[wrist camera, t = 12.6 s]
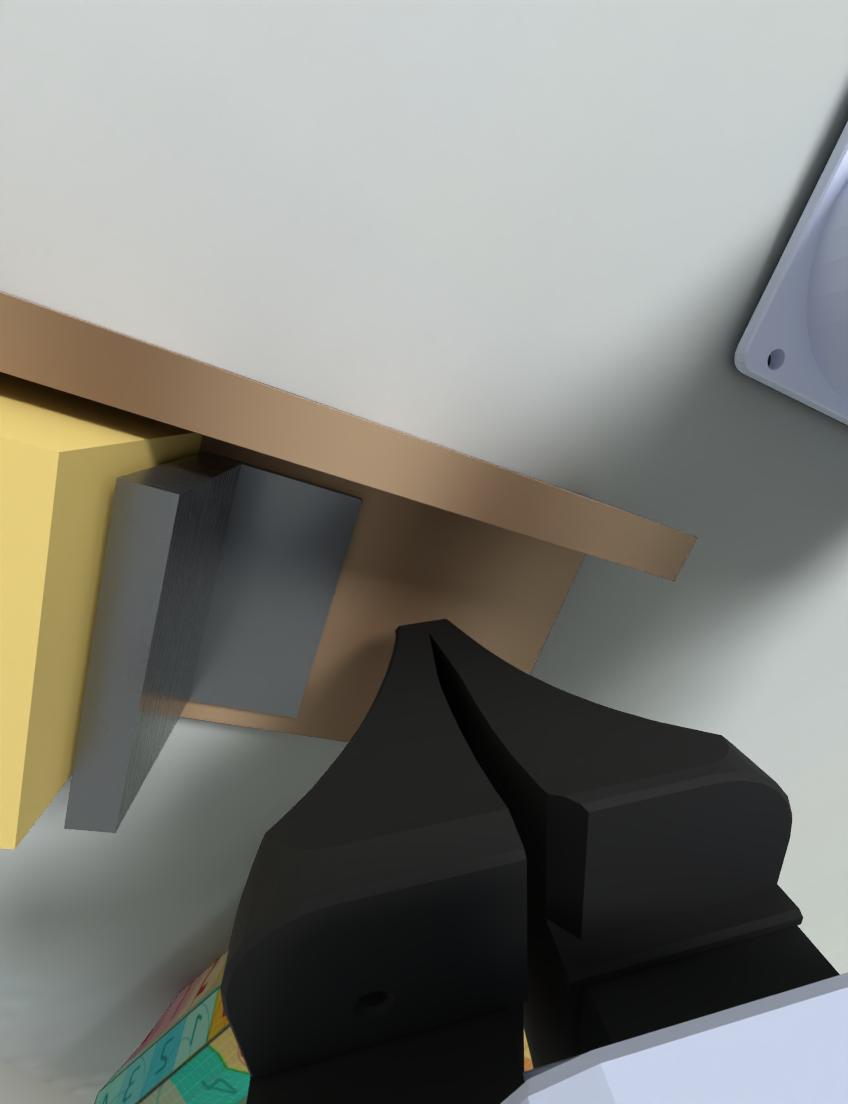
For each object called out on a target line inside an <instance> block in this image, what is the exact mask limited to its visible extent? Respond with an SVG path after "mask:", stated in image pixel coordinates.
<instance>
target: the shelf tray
mask: <svg viewBox="0 0 848 1104" xmlns="http://www.w3.org/2000/svg"><path fill="white" fill-rule="evenodd" d="M0 372H3V373H6V374H9V375H13V376H16V377H19V378H22V379H26V380H29V381H32V382H35V383H38V384H42V385H45V386H48V387H51V388H55V389H58V390H61V391H64V392H67V393H71V394H74V395H77V396H80V397H83V398H87V399H90V400H93V401H96V402H100V403H103V404H106V405H109V406H112V407H116V408H119V409H122V410H125V411H128V412H132V413H135V414H138V415H141V416H145V417H148V418H151V419H154V420H157V421H161V422H164V423H167V424H170V425H174V426H177V427H180V428H183V429H186V430H190V431H193V432H196V433H199V434H202V440H201V445H200V450H199V454H200V453H203V452H207V451H208V452H212V453H215V454H218V455H222V456H225V457H228V458H232V459H235V460H238V461H242V462H245V463H248V464H251V465H255V466H258V467H261V468H265V469H268V470H271V471H275V472H278V473H281V474H285V475H288V476H291V477H294V478H298V479H301V480H304V481H308V482H311V483H314V484H318V485H321V486H324V487H327V488H331V489H334V490H337V491H341V492H344V493H347V494H351V495H354V496H357V497H361V498H362V499H363V501H362V504H361V508H360V511H359V514H358V518H357V521H356V524H355V528H354V531H353V534H352V537H351V541H350V544H349V547H348V551H347V554H346V557H345V560H344V564H343V567H342V570H341V574H340V577H339V580H338V583H337V587H336V590H335V593H334V597H333V600H332V603H331V606H330V610H329V613H328V616H327V620H326V623H325V626H324V629H323V633H322V636H321V639H320V643H319V646H318V649H317V652H316V656H315V659H314V662H313V666H312V669H311V672H310V676H309V679H308V682H307V685H306V689H305V692H304V695H303V699H302V702H301V705H300V708H299V712H298V715H297V718H294V717H287V716H281V715H275V714H269V713H263V712H256V711H250V710H244V709H238V708H231V707H225V706H219V705H213V704H207V703H200V702H194V701H188V702H187V704H186V706H185V708H184V710H183V711H182V713H181V715H180V717H185V718H192V719H198V720H205V721H211V722H218V723H225V724H231V725H238V726H244V727H251V728H258V729H264V730H271V731H278V732H284V733H291V734H297V735H304V736H311V737H317V738H324V739H331V740H337V741H344V742H349V741H350V740H351V738H352V737H353V735H354V734H355V732H356V731H357V729H358V728H359V726H360V725H361V723H362V721H363V720H364V718H365V716H366V715H367V713H368V711H369V709H370V707H371V705H372V704H373V702H374V700H375V698H376V695H377V693H378V691H379V689H380V686H381V684H382V682H383V679H384V677H385V675H386V672H387V669H388V666H389V663H390V660H391V656H392V653H393V649H394V644H395V636H396V635H395V630H396V629H397V628H398V626H401V625H408V624H414V623H421V622H427V621H433V620H440V619H447V620H449V621H450V622H451V623H453V624H454V625H455V626H456V627H458V628H459V629H460V630H462V631H463V632H464V633H465V634H467V635H468V636H469V637H471V638H472V639H473V640H475V641H476V642H477V643H479V644H480V645H482V646H483V647H484V648H486V649H487V650H489V651H490V652H492V653H493V654H495V655H496V656H498V657H499V658H501V659H503V660H504V661H506V662H508V663H509V664H511V665H513V666H514V667H516V668H518V669H519V670H521V671H523V672H525V673H527V674H529V675H530V674H531V671H532V669H533V667H534V665H535V663H536V661H537V658H538V656H539V654H540V652H541V650H542V647H543V645H544V643H545V641H546V639H547V636H548V634H549V632H550V630H551V628H552V626H553V623H554V621H555V619H556V617H557V615H558V612H559V610H560V608H561V606H562V604H563V601H564V599H565V597H566V595H567V593H568V591H569V588H570V586H571V584H572V582H573V580H574V577H575V575H576V573H577V571H578V569H579V567H580V564H581V562H582V560H583V558H584V556H585V554H588V555H592V556H595V557H598V558H601V559H605V560H608V561H611V562H614V563H617V564H621V565H624V566H627V567H630V568H633V569H637V570H640V571H643V572H646V573H650V574H653V575H656V576H659V577H662V578H666V579H669V580H672V581H675V579H676V577H677V575H678V574H679V572H680V570H681V568H682V566H683V564H684V562H685V560H686V558H687V556H688V554H689V553H690V551H691V549H692V547H693V545H694V543H695V541H696V539H697V537H695V536H693V535H690V534H687V533H684V532H682V531H679V530H676V529H673V528H671V527H668V526H665V525H662V524H660V523H657V522H654V521H651V520H649V519H646V518H643V517H640V516H638V515H635V514H632V513H629V512H627V511H624V510H621V509H618V508H616V507H613V506H610V505H608V504H605V503H602V502H599V501H597V500H594V499H591V498H588V497H585V496H582V495H580V494H577V493H574V492H571V491H568V490H565V489H563V488H560V487H557V486H554V485H551V484H548V483H545V482H543V481H540V480H537V479H534V478H531V477H528V476H526V475H523V474H520V473H517V472H514V471H511V470H508V469H506V468H503V467H500V466H497V465H494V464H491V463H489V462H486V461H483V460H480V459H477V458H474V457H472V456H469V455H466V454H463V453H460V452H457V451H454V450H452V449H449V448H446V447H443V446H440V445H437V444H435V443H432V442H429V441H426V440H423V439H420V438H417V437H415V436H412V435H409V434H406V433H403V432H400V431H398V430H395V429H392V428H389V427H386V426H383V425H380V424H378V423H375V422H372V421H369V420H366V419H363V418H361V417H358V416H355V415H352V414H349V413H346V412H343V411H341V410H338V409H335V408H332V407H329V406H326V405H324V404H321V403H318V402H315V401H312V400H309V399H307V398H304V397H301V396H298V395H295V394H292V393H289V392H287V391H284V390H281V389H278V388H275V387H272V386H270V385H267V384H264V383H261V382H258V381H255V380H252V379H250V378H247V377H244V376H241V375H238V374H235V373H233V372H230V371H227V370H224V369H221V368H218V367H215V366H213V365H210V364H207V363H204V362H201V361H198V360H196V359H193V358H190V357H187V356H184V355H181V354H178V353H176V352H173V351H170V350H167V349H164V348H161V347H159V346H156V345H153V344H150V343H147V342H144V341H142V340H139V339H136V338H133V337H130V336H127V335H124V334H122V333H119V332H116V331H113V330H110V329H107V328H105V327H102V326H99V325H96V324H93V323H90V322H87V321H85V320H82V319H79V318H76V317H73V316H70V315H68V314H65V313H62V312H59V311H56V310H53V309H50V308H48V307H45V306H42V305H39V304H36V303H33V302H31V301H28V300H25V299H22V298H19V297H16V296H14V295H11V294H8V293H5V292H2V291H0Z"/></svg>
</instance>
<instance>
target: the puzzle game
mask: <svg viewBox="0 0 848 1104" xmlns="http://www.w3.org/2000/svg"><path fill="white" fill-rule="evenodd" d="M227 954H228V951H227V952H226V953H225V954H223V955H222V956H221V957H220V958H219V959H218V960H217V961H216V962H214V963H213V964H212V965H211V966H210V967H209V968H208V969H206V970H205V971H204V972H203V973H202V974H201V975H200V976H199V977H197V978H196V979H195V980H194V981H193V982H192V983H191V984H189V985H188V986H187V987H186V988H185V989H184V990H183V991H182V992H180V993H179V995H178V996H177V997H176V999H175V1000H174V1001H173V1003H172V1004H171V1005H170V1007H169V1008H168V1009H167V1011H166V1012H165V1013H164V1015H163V1016H162V1017H161V1019H160V1020H159V1021H158V1023H157V1024H156V1025H155V1027H154V1028H153V1029H152V1031H151V1032H150V1033H149V1035H148V1036H147V1037H146V1039H145V1040H144V1041H143V1043H142V1044H141V1045H140V1047H139V1048H138V1049H137V1050H136V1051H135V1052H134V1053H133V1054H132V1056H131V1057H130V1058H129V1059H128V1060H127V1061H126V1062H125V1063H124V1065H123V1066H122V1067H121V1068H120V1069H119V1070H118V1071H117V1073H116V1074H115V1075H114V1076H113V1077H112V1078H111V1079H110V1080H109V1082H108V1083H107V1084H106V1085H105V1086H104V1087H103V1088H102V1089H101V1091H100V1092H99V1093H98V1095H97V1097H96V1100H95V1103H94V1104H246V1102H247V1096H248V1089H249V1082H250V1076H251V1075H250V1073H249V1071H248V1068H247V1066H246V1063H245V1061H244V1058H243V1056H242V1054H241V1051H240V1049H239V1046H238V1044H237V1041H236V1039H235V1037H234V1034H233V1032H232V1029H231V1027H230V1025H229V1022H228V1020H227V1017H226V1015H225V1012H224V1010H223V1004H222V998H221V992H220V987H221V982H222V978H223V973H224V968H225V964H226V959H227ZM531 1069H533V1064H532V1060H531V1056H530V1052H529V1048H528V1043H527V1039H526V1035H525V1031H524V1072H525V1071H528V1070H531Z"/></svg>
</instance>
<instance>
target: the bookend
mask: <svg viewBox="0 0 848 1104" xmlns="http://www.w3.org/2000/svg"><path fill="white" fill-rule="evenodd" d="M362 501H363V499H362V498H361V497H357V496H354V495H351V494H347V493H344V492H341V491H337V490H334V489H331V488H327V487H324V486H321V485H318V484H314V483H311V482H308V481H304V480H301V479H298V478H294V477H291V476H288V475H285V474H281V473H278V472H275V471H271V470H268V469H265V468H261V467H258V466H255V465H251V464H248V463H245V462H242V461H238V460H235V459H232V458H228V457H225V456H222V455H218V454H215V453H212V452H208V451H207V452H203V453H200V454H196V455H193V456H189V457H186V458H183V459H179V460H176V461H172V462H169V463H165V464H162V465H158V466H155V467H151V468H148V469H145V470H141V471H138V472H134V473H131V474H127V475H124V476H120V477H117V478H116V485H115V492H114V498H113V505H112V512H111V518H110V525H109V532H108V539H107V545H106V552H105V559H104V565H103V572H102V579H101V585H100V592H99V599H98V606H97V612H96V619H95V626H94V632H93V639H92V646H91V652H90V659H89V666H88V673H87V679H86V686H85V693H84V699H83V706H82V713H81V720H80V726H79V733H78V740H77V746H76V753H75V760H74V766H73V773H72V780H71V787H70V793H69V800H68V807H67V813H66V820H65V827H64V829H76V830H88V831H100V832H112V833H116V831H117V829H118V827H119V825H120V824H121V822H122V820H123V818H124V816H125V814H126V813H127V811H128V809H129V807H130V805H131V804H132V802H133V800H134V798H135V796H136V795H137V793H138V791H139V789H140V787H141V786H142V784H143V782H144V780H145V778H146V776H147V775H148V773H149V771H150V769H151V767H152V766H153V764H154V762H155V760H156V758H157V757H158V755H159V753H160V751H161V749H162V748H163V746H164V744H165V742H166V740H167V739H168V737H169V735H170V733H171V731H172V729H173V728H174V726H175V724H176V722H177V720H178V719H179V717H180V715H181V713H182V711H183V710H184V708H185V706H186V704H187V702H188V701H194V702H200V703H207V704H213V705H219V706H225V707H231V708H238V709H244V710H250V711H256V712H263V713H269V714H275V715H281V716H287V717H294V718H297V715H298V712H299V708H300V705H301V702H302V699H303V695H304V692H305V689H306V685H307V682H308V679H309V676H310V672H311V669H312V666H313V662H314V659H315V656H316V652H317V649H318V646H319V643H320V639H321V636H322V633H323V629H324V626H325V623H326V620H327V616H328V613H329V610H330V606H331V603H332V600H333V597H334V593H335V590H336V587H337V583H338V580H339V577H340V574H341V570H342V567H343V564H344V560H345V557H346V554H347V551H348V547H349V544H350V541H351V537H352V534H353V531H354V528H355V524H356V521H357V518H358V514H359V511H360V508H361V504H362Z"/></svg>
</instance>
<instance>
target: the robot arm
mask: <svg viewBox="0 0 848 1104" xmlns="http://www.w3.org/2000/svg"><path fill="white" fill-rule="evenodd" d="M770 354H771V362H770V365H769V366H768V363H767V361H768V357H769V355H770ZM735 365H736V367H737V369H738V370H739V371H740V372H741V373H743V374H745V375H747V376H749V377H751V378H753V379H755V380H757V381H759V382H761V383H763V384H765V385H767V386H769V387H771V388H773V389H775V390H777V391H779V392H781V393H783V394H785V395H787V396H790V397H792V398H794V399H796V400H798V401H800V402H802V403H804V404H806V405H808V406H810V407H812V408H814V409H816V410H818V411H820V412H822V413H824V414H826V415H828V416H830V417H832V418H834V419H836V420H838V421H840V422H842V423H844V424H846V425H848V122H847V124H846V126H845V128H844V130H843V132H842V134H841V136H840V138H839V140H838V142H837V144H836V146H835V148H834V150H833V152H832V155H831V157H830V159H829V161H828V163H827V165H826V167H825V169H824V171H823V173H822V175H821V177H820V179H819V181H818V183H817V185H816V187H815V189H814V191H813V193H812V195H811V197H810V199H809V201H808V203H807V206H806V208H805V210H804V212H803V214H802V216H801V218H800V220H799V222H798V224H797V226H796V228H795V230H794V232H793V234H792V236H791V238H790V240H789V242H788V244H787V246H786V248H785V250H784V252H783V255H782V257H781V259H780V261H779V263H778V265H777V267H776V269H775V271H774V273H773V275H772V277H771V279H770V281H769V283H768V285H767V287H766V289H765V291H764V293H763V295H762V297H761V299H760V301H759V304H758V306H757V308H756V310H755V312H754V314H753V316H752V318H751V320H750V322H749V324H748V326H747V328H746V330H745V332H744V334H743V336H742V338H741V340H740V342H739V344H738V346H737V349H736V352H735ZM395 635H396V636H395V644H394V649H393V653H392V656H391V660H390V663H389V666H388V669H387V672H386V675H385V677H384V679H383V682H382V684H381V686H380V689H379V691H378V693H377V695H376V698H375V700H374V702H373V704H372V705H371V707H370V709H369V711H368V713H367V715H366V716H365V718H364V720H363V721H362V723H361V725H360V726H359V728H358V729H357V731H356V732H355V734H354V735H353V737H352V738H351V740H350V741H349V743H348V744H347V746H346V747H345V749H344V750H343V751H342V753H341V754H340V755H339V757H338V758H337V759H336V760H335V761H334V763H333V764H332V765H331V766H330V768H329V769H328V770H327V771H326V772H325V774H324V775H323V776H322V777H321V778H320V780H319V781H318V782H317V783H316V784H315V786H314V787H313V788H312V789H311V790H310V791H309V792H308V793H307V794H306V795H305V796H304V797H303V798H302V799H301V800H300V801H299V802H298V803H297V804H296V805H295V806H294V807H293V808H292V809H291V810H290V811H289V812H288V813H287V814H286V815H285V816H284V817H283V818H282V819H281V820H280V821H278V822H277V823H276V824H275V825H274V826H273V827H272V828H271V829H270V830H269V831H267V833H266V834H265V835H264V838H263V840H262V842H261V845H260V847H259V850H258V852H257V855H256V858H255V860H254V863H253V865H252V868H251V871H250V874H249V877H248V880H247V883H246V885H245V888H244V891H243V894H242V897H241V900H240V904H239V907H238V910H237V914H236V918H235V922H234V926H233V931H232V936H231V940H230V945H229V950H228V954H227V959H226V964H225V968H224V973H223V978H222V982H221V987H220V992H221V998H222V1004H223V1010H224V1012H225V1015H226V1017H227V1020H228V1022H229V1025H230V1027H231V1029H232V1032H233V1034H234V1037H235V1039H236V1041H237V1044H238V1046H239V1049H240V1051H241V1054H242V1056H243V1058H244V1061H245V1063H246V1066H247V1068H248V1071H249V1073H250V1075H251V1076H250V1082H249V1089H248V1096H247V1102H246V1104H848V973H845V974H842V975H840V974H839V973H838V972H837V971H836V970H835V969H834V967H833V966H832V965H831V964H830V963H829V962H828V961H827V959H826V958H825V957H824V956H823V955H822V954H821V953H820V951H819V950H818V949H817V948H816V947H815V946H814V944H813V943H812V942H811V941H810V940H809V939H808V938H807V936H806V935H805V934H804V933H803V932H802V931H801V929H800V928H799V927H798V926H797V925H800V924H801V922H802V919H803V916H802V914H801V912H800V909H799V908H798V907H797V906H796V905H795V903H794V902H793V901H792V900H791V899H790V898H789V897H788V896H787V895H786V893H785V892H784V891H783V890H782V889H781V888H780V887H779V886H778V885H777V882H778V879H779V875H780V871H781V868H782V864H783V861H784V857H785V854H786V850H787V846H788V843H789V839H790V833H791V825H792V812H791V808H790V804H789V800H788V796H787V795H786V794H785V792H784V791H783V790H782V789H781V787H780V786H779V785H778V784H777V783H776V782H775V781H774V780H773V779H772V778H771V777H769V776H768V775H767V774H766V773H765V772H764V771H763V770H761V769H760V768H759V767H758V766H757V765H756V764H755V763H753V762H752V761H751V760H750V759H749V758H748V757H746V756H745V755H744V754H743V753H742V752H741V751H740V750H738V749H737V748H736V747H735V746H734V745H733V744H732V743H730V742H729V741H728V740H727V739H725V738H724V737H723V736H722V735H717V734H713V733H708V732H703V731H699V730H694V729H689V728H684V727H680V726H675V725H670V724H666V723H661V722H657V721H653V720H649V719H646V718H642V717H639V716H635V715H631V714H628V713H624V712H621V711H618V710H614V709H611V708H608V707H605V706H602V705H599V704H596V703H594V702H591V701H588V700H586V699H583V698H580V697H578V696H575V695H572V694H570V693H567V692H565V691H563V690H560V689H558V688H556V687H553V686H551V685H549V684H547V683H545V682H543V681H541V680H539V679H537V678H535V677H533V676H531V675H529V674H527V673H525V672H523V671H521V670H519V669H518V668H516V667H514V666H513V665H511V664H509V663H508V662H506V661H504V660H503V659H501V658H499V657H498V656H496V655H495V654H493V653H492V652H490V651H489V650H487V649H486V648H484V647H483V646H482V645H480V644H479V643H477V642H476V641H475V640H473V639H472V638H471V637H469V636H468V635H467V634H465V633H464V632H463V631H462V630H460V629H459V628H458V627H456V626H455V625H454V624H453V623H451V622H450V621H449V620H447V619H440V620H433V621H427V622H421V623H414V624H408V625H401V626H398V628H397V629H396V630H395ZM524 1031H525V1035H526V1039H527V1043H528V1048H529V1052H530V1056H531V1060H532V1064H533V1069H531V1070H528V1071H525V1072H524Z"/></svg>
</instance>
